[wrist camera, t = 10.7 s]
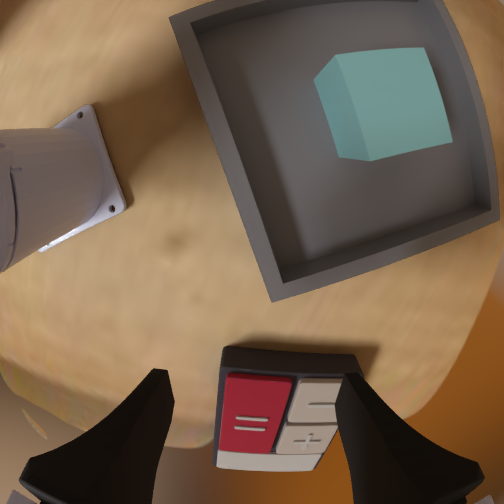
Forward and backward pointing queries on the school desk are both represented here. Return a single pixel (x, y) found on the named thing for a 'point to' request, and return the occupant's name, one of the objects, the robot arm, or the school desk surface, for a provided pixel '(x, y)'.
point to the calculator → (277, 408)
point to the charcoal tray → (321, 140)
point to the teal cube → (382, 103)
